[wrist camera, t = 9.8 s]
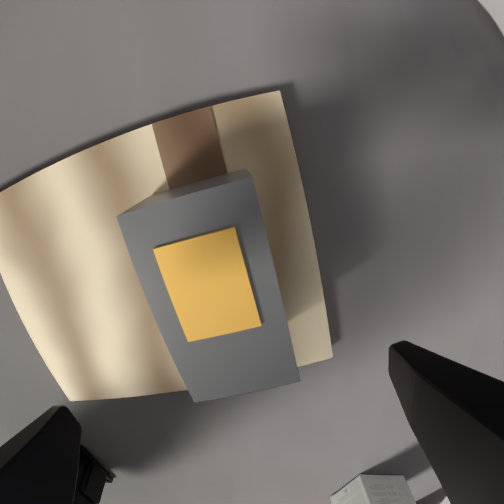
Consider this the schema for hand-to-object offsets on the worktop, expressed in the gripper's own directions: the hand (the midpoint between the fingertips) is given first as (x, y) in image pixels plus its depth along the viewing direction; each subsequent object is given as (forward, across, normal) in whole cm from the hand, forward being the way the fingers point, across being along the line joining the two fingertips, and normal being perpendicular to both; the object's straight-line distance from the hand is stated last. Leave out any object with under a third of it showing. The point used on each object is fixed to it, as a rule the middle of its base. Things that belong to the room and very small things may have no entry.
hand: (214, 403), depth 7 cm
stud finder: (+10, 0, 0) cm, 10 cm away
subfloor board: (+11, +5, 0) cm, 12 cm away
